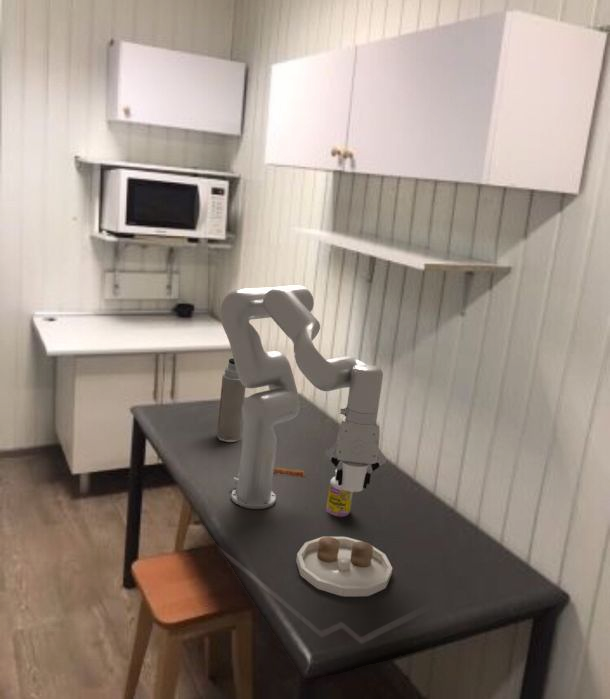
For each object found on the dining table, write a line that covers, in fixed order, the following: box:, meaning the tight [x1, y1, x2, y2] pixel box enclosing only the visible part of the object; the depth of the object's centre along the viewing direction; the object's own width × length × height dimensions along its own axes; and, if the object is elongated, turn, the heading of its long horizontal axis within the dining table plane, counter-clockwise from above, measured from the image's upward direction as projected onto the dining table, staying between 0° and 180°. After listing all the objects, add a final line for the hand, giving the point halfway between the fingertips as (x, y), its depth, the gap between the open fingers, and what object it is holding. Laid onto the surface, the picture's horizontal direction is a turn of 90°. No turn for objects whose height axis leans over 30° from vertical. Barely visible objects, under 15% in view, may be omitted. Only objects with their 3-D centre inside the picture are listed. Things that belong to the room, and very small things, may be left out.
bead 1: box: [317, 536, 340, 562], centre depth 167 cm, size 5×5×4 cm
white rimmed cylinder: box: [341, 461, 368, 493], centre depth 169 cm, size 7×7×7 cm
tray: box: [295, 536, 393, 598], centre depth 163 cm, size 22×22×3 cm
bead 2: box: [350, 541, 374, 567], centre depth 167 cm, size 5×5×4 cm
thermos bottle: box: [216, 357, 246, 440], centre depth 232 cm, size 8×8×28 cm
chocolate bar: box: [273, 466, 306, 478], centre depth 213 cm, size 3×12×2 cm, turn 89°
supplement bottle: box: [325, 468, 354, 517], centre depth 190 cm, size 7×7×13 cm
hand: (352, 483), depth 170 cm, fingers closed on white rimmed cylinder, 5 cm apart
